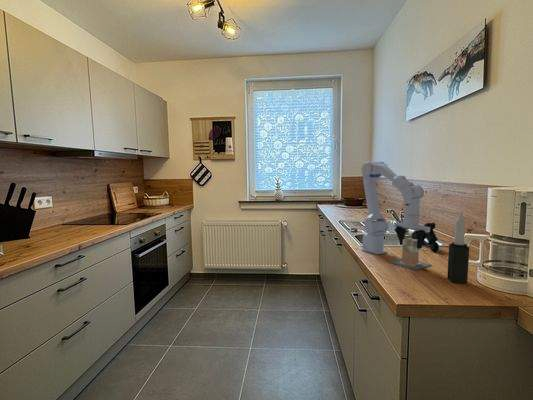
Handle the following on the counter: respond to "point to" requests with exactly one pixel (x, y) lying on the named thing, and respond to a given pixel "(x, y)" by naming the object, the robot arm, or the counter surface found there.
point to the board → (414, 267)
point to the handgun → (429, 237)
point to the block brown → (410, 258)
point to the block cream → (410, 245)
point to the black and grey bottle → (458, 254)
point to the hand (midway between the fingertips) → (410, 246)
